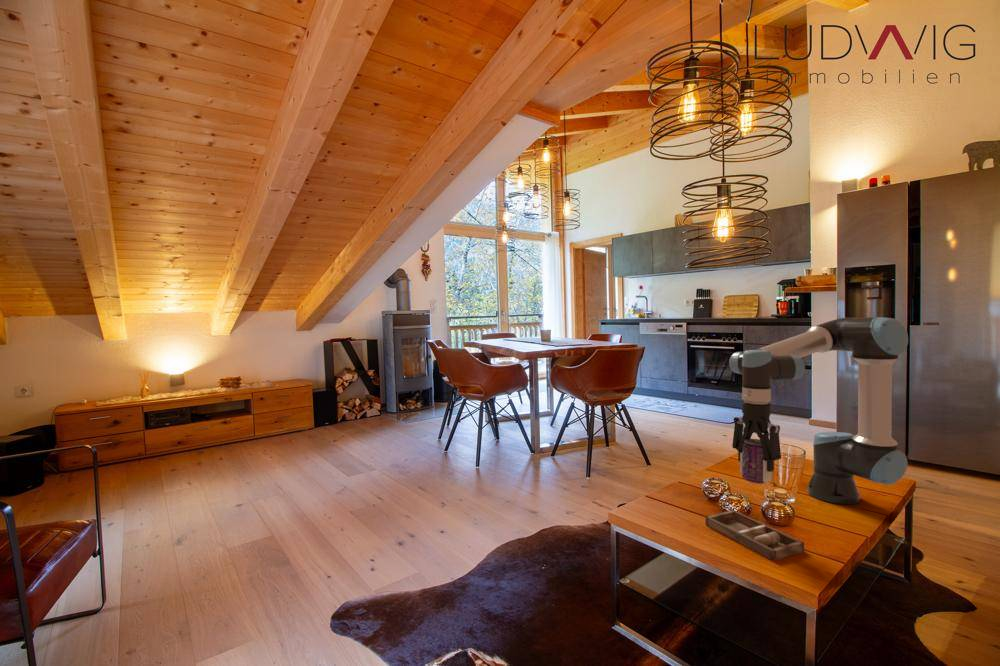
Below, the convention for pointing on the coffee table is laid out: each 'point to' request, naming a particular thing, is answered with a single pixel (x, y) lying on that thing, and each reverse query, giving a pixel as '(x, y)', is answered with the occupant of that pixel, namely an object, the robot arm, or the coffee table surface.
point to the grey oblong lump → (768, 538)
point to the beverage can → (753, 461)
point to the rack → (754, 534)
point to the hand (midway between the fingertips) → (755, 477)
